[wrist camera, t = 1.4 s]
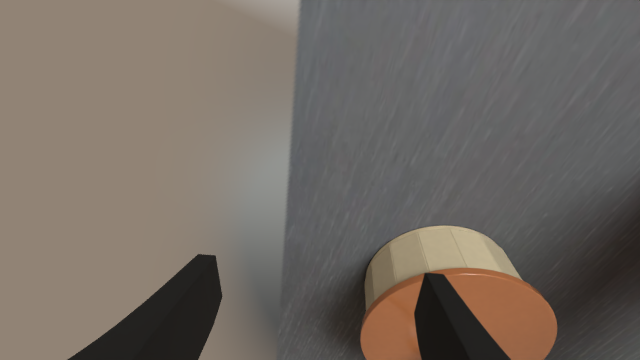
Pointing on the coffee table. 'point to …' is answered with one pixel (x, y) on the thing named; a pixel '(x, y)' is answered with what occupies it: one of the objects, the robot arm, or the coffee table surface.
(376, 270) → the pot
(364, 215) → the coffee table surface
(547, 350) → the lid
